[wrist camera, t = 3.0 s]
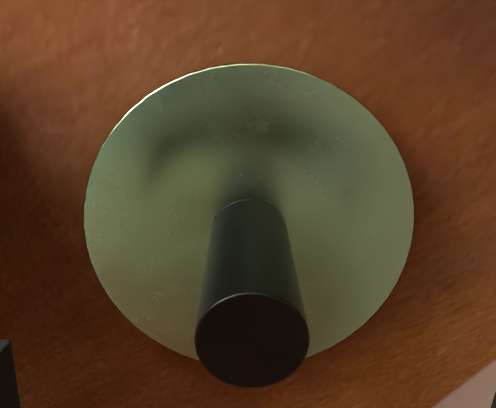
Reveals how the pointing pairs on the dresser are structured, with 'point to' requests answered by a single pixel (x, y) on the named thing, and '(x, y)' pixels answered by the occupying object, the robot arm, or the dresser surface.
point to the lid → (248, 218)
